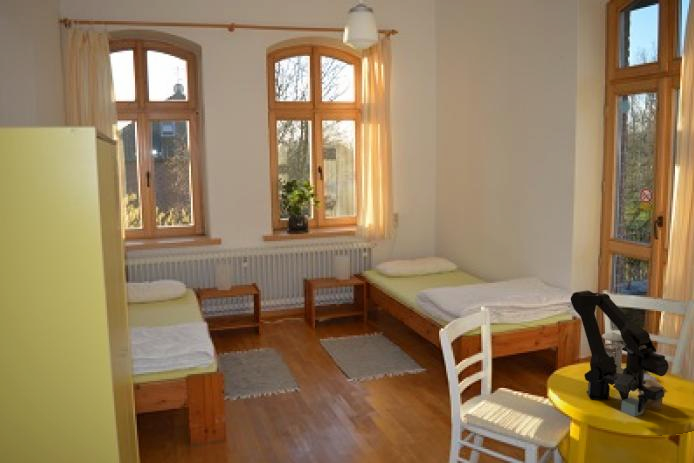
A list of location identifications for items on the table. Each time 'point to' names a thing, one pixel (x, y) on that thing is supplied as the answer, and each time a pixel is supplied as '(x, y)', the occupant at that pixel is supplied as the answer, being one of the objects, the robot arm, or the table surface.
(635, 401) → the slate block
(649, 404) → the tower base
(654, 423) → the table surface
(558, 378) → the table surface
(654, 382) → the tower mid
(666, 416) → the table surface
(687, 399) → the table surface
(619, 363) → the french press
